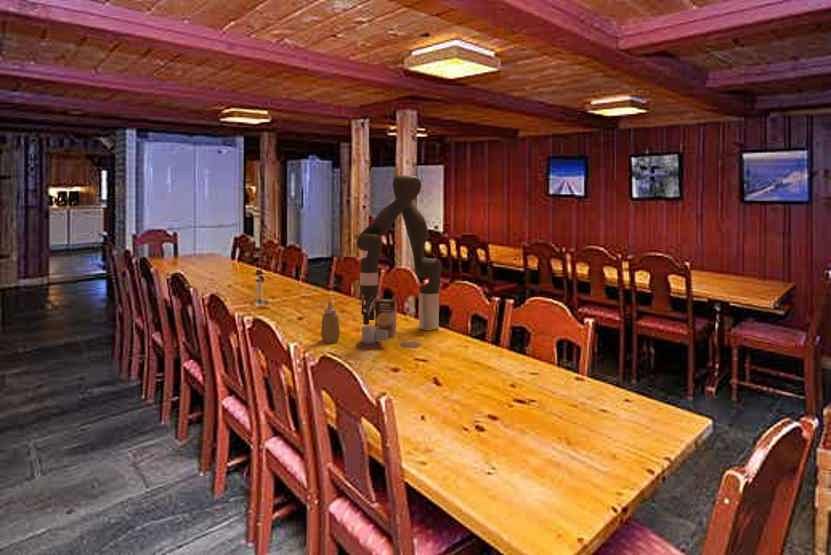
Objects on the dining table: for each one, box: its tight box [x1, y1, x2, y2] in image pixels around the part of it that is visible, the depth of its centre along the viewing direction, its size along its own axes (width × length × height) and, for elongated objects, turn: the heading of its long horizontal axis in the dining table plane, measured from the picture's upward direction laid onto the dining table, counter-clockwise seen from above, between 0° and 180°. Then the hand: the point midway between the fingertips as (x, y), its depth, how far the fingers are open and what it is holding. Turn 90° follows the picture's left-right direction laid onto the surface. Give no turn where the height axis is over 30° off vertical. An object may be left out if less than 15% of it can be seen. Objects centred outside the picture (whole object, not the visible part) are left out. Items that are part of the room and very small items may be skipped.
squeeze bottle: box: [320, 300, 341, 344], centre depth 235 cm, size 8×8×18 cm
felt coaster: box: [398, 341, 422, 349], centre depth 232 cm, size 9×9×1 cm
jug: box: [361, 325, 389, 345], centre depth 228 cm, size 11×6×8 cm, turn 80°
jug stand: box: [354, 339, 384, 352], centre depth 229 cm, size 12×12×2 cm
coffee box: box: [374, 297, 398, 337], centre depth 248 cm, size 9×6×16 cm
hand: (369, 322), depth 227 cm, fingers open, 8 cm apart
